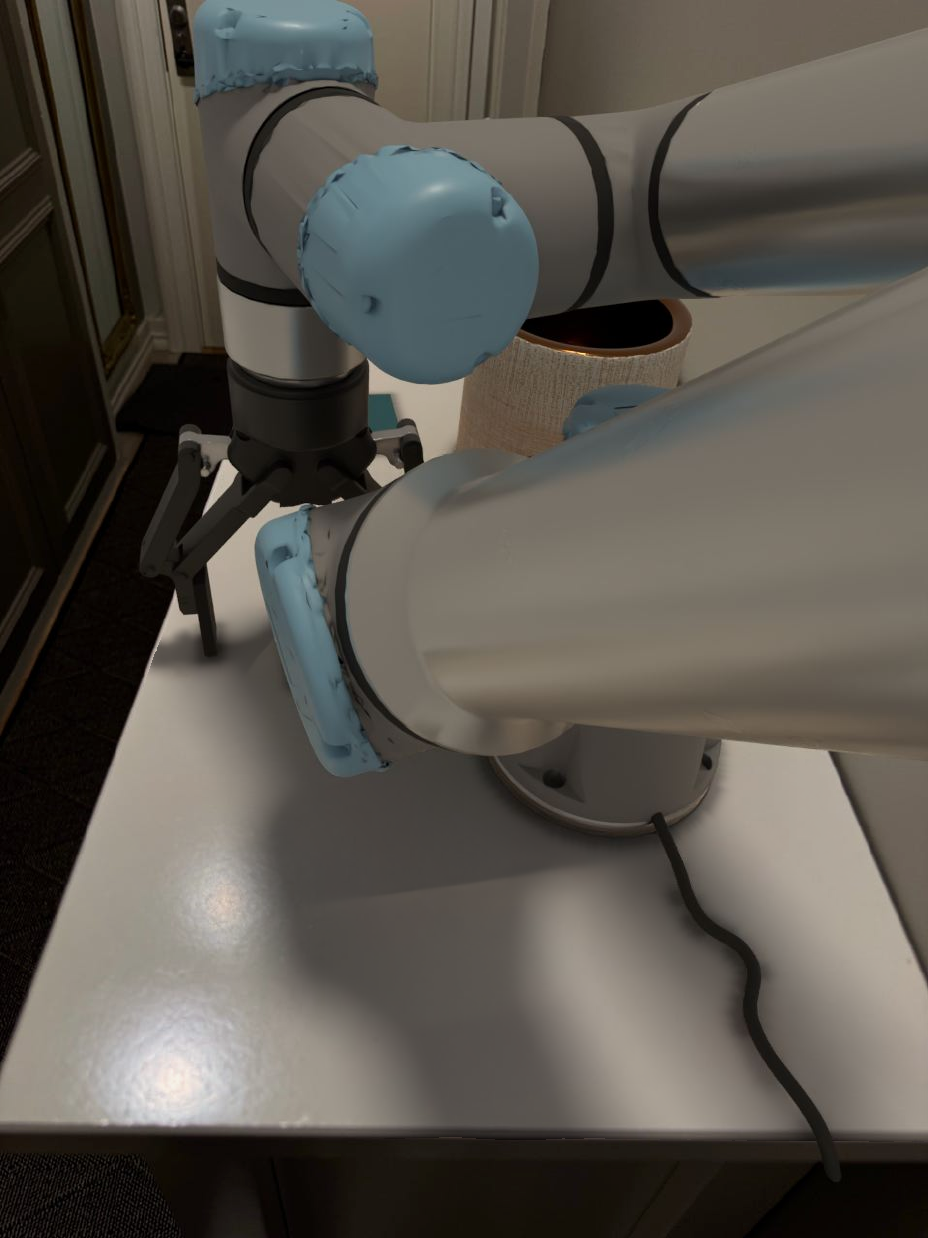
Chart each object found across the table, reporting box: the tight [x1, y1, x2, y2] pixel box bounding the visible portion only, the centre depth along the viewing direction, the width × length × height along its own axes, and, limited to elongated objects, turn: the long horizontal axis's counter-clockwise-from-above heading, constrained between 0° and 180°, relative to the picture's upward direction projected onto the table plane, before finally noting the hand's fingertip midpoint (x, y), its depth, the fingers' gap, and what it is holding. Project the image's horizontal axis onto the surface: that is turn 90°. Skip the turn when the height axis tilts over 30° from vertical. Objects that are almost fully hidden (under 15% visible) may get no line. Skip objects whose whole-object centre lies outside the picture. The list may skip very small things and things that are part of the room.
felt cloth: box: [368, 393, 399, 432], centre depth 81 cm, size 10×7×1 cm
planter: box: [456, 299, 694, 457], centre depth 73 cm, size 18×18×16 cm
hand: (311, 634), depth 60 cm, fingers open, 13 cm apart
